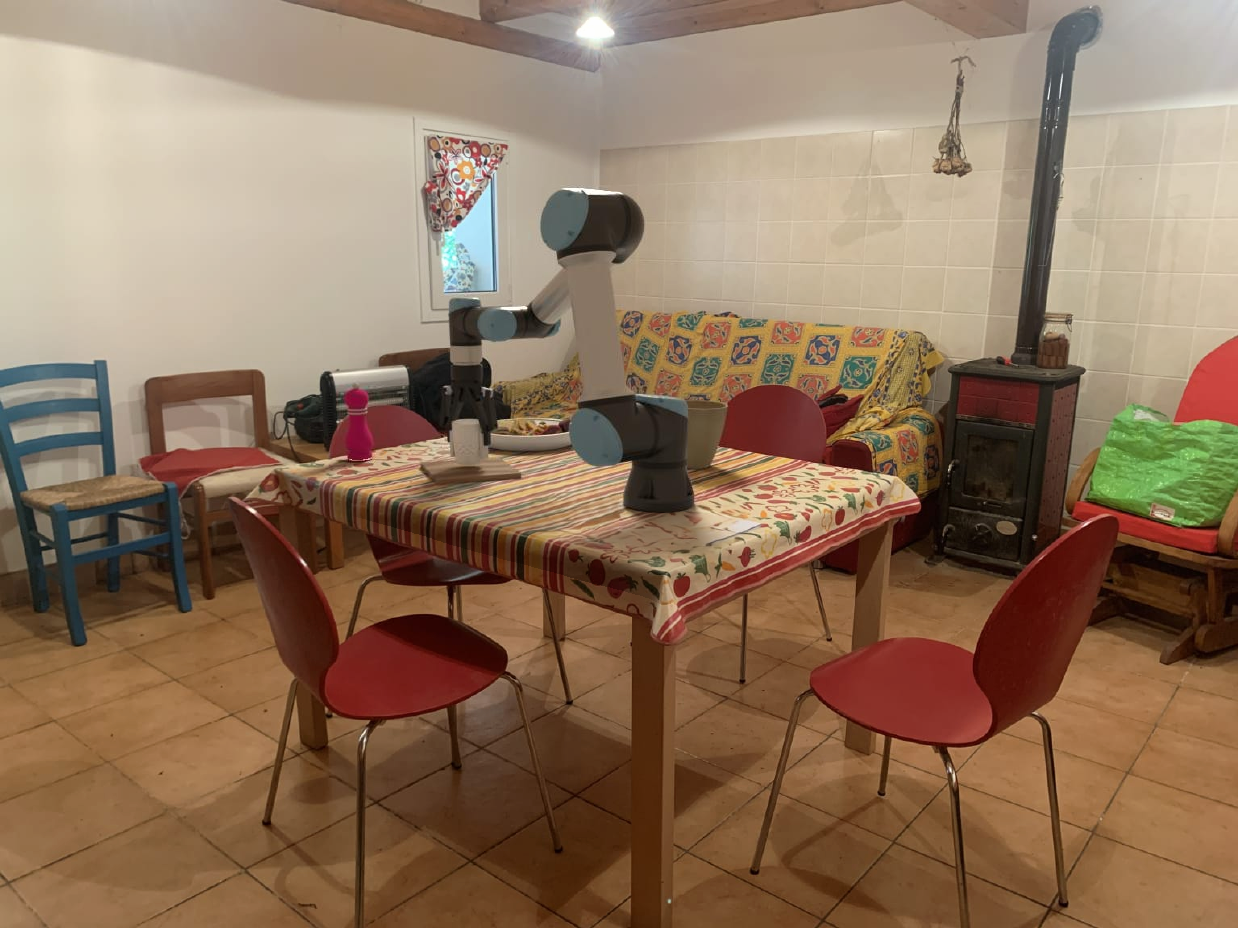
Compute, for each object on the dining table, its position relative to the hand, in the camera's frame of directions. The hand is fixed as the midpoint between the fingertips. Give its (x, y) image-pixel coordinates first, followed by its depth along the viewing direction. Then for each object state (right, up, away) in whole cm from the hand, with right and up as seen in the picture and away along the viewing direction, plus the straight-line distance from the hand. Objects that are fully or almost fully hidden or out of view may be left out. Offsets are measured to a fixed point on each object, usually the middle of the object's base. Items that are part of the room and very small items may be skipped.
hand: (469, 457), depth 216 cm
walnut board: (0, -4, +1) cm, 4 cm away
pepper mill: (-31, -1, +15) cm, 34 cm away
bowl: (+10, +4, +39) cm, 41 cm away
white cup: (0, -1, 0) cm, 1 cm away
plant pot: (+56, -2, +10) cm, 57 cm away
